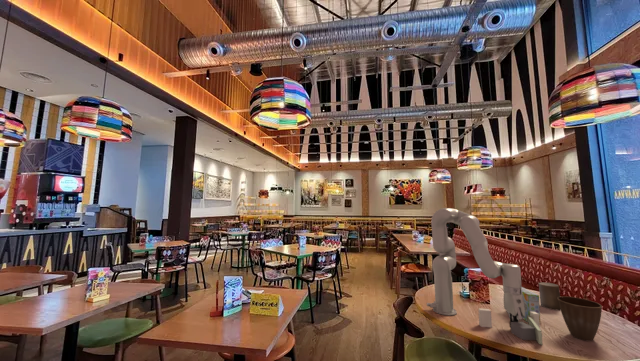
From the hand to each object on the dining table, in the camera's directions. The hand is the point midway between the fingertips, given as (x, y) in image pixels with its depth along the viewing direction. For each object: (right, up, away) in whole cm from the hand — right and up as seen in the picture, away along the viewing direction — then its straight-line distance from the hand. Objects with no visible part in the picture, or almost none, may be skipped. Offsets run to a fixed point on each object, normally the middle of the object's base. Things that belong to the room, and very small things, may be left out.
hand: (514, 328), depth 128 cm
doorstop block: (-1, 0, -6) cm, 6 cm away
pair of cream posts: (-1, -1, +3) cm, 3 cm away
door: (+5, 0, -6) cm, 8 cm away
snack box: (+18, -3, +17) cm, 25 cm away
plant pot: (+27, -1, -7) cm, 28 cm away
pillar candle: (+47, -6, +33) cm, 57 cm away
